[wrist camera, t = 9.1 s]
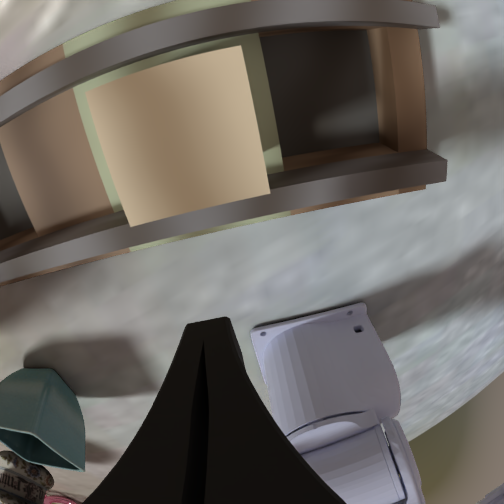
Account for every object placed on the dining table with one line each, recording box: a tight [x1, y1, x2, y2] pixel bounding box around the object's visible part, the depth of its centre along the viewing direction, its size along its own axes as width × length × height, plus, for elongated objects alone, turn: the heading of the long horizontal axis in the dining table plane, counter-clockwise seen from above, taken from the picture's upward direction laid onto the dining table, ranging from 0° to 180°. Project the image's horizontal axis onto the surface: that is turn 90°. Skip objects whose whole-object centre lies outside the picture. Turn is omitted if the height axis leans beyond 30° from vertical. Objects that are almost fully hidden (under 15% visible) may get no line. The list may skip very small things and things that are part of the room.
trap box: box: [0, 0, 447, 286], centre depth 14 cm, size 32×12×4 cm, turn 101°
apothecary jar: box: [0, 451, 54, 504], centre depth 31 cm, size 12×12×18 cm
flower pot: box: [0, 368, 85, 472], centre depth 23 cm, size 9×9×9 cm
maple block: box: [85, 45, 270, 227], centre depth 11 cm, size 5×5×5 cm
